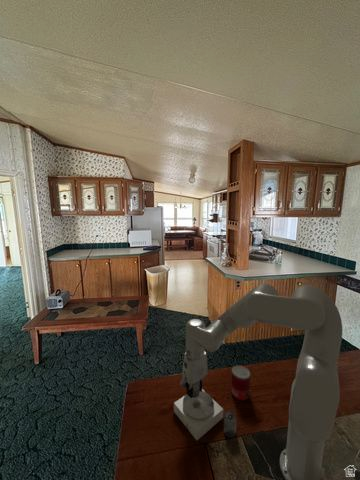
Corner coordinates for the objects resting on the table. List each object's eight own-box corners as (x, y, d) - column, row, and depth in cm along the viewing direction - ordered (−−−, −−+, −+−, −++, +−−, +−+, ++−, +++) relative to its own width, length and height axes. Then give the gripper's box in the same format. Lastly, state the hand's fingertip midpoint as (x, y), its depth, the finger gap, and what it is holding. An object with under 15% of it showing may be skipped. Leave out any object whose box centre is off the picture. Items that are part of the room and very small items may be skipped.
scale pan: (220, 407, 84) (220, 405, 84) (197, 426, 76) (197, 424, 76) (199, 386, 93) (199, 385, 93) (176, 401, 86) (176, 400, 86)
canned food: (250, 402, 91) (251, 379, 90) (231, 399, 93) (232, 376, 91) (248, 388, 99) (249, 366, 97) (230, 385, 100) (231, 364, 99)
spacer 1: (201, 393, 86) (202, 380, 85) (193, 399, 83) (193, 385, 83) (194, 386, 90) (194, 373, 89) (186, 392, 87) (186, 378, 86)
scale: (222, 417, 84) (223, 408, 84) (196, 441, 75) (196, 430, 75) (198, 393, 95) (199, 385, 94) (173, 411, 86) (173, 402, 86)
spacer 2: (238, 432, 79) (238, 418, 78) (230, 440, 76) (231, 425, 75) (228, 423, 82) (229, 409, 81) (221, 430, 79) (221, 415, 79)
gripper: (184, 365, 76) (183, 410, 78) (216, 347, 86) (215, 388, 89) (172, 354, 82) (172, 396, 84) (203, 339, 92) (202, 377, 94)
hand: (194, 391), depth 86 cm, fingers closed on spacer 1, 4 cm apart
